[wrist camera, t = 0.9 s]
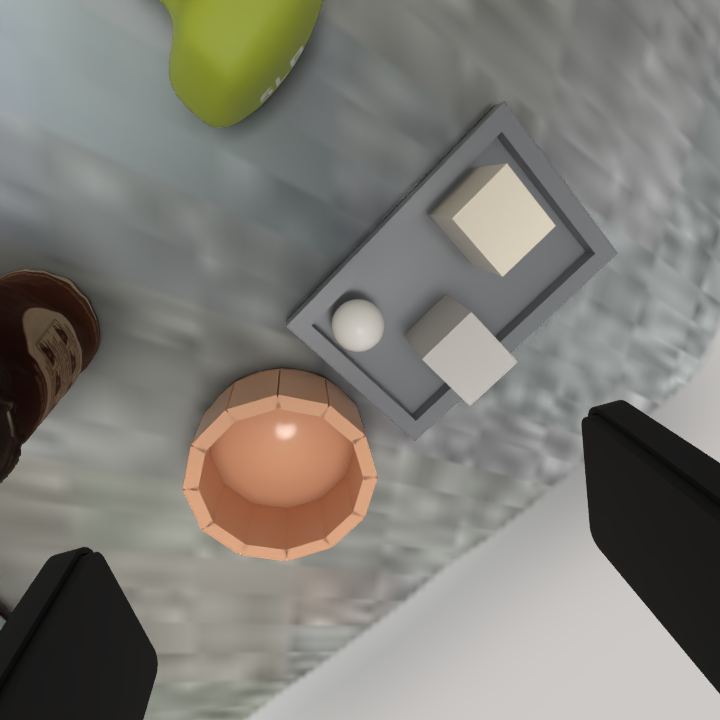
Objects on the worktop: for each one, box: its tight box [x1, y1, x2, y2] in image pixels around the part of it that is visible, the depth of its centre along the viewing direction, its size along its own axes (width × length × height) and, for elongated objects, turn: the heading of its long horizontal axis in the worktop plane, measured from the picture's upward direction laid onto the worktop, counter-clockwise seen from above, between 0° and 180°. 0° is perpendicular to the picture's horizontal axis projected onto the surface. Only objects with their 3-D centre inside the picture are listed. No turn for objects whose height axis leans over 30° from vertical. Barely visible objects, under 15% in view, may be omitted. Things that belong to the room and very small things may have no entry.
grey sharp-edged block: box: [404, 295, 517, 406], centre depth 28 cm, size 4×4×4 cm
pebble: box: [332, 299, 385, 352], centre depth 27 cm, size 3×3×3 cm
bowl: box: [183, 368, 377, 561], centre depth 29 cm, size 10×10×4 cm
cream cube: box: [428, 163, 556, 277], centre depth 26 cm, size 4×4×4 cm
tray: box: [286, 102, 617, 441], centre depth 29 cm, size 16×11×2 cm, turn 135°
